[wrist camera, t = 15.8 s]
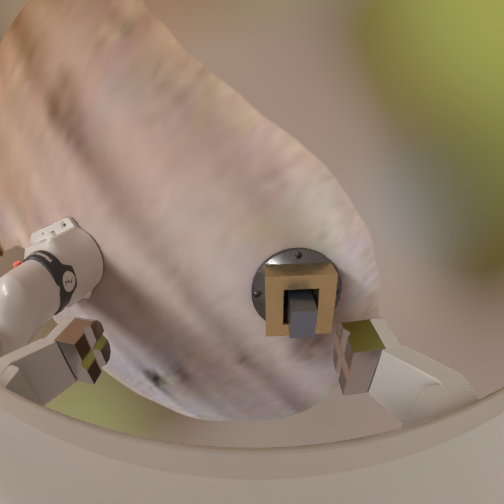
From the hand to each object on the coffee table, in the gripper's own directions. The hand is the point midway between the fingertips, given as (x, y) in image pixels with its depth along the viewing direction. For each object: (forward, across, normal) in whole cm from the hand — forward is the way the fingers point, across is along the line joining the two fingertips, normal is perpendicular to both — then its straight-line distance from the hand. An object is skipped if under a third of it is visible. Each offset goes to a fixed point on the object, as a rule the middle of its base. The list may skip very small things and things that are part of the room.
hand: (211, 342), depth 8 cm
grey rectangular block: (+38, -8, +20) cm, 43 cm away
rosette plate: (+39, -8, +19) cm, 44 cm away
